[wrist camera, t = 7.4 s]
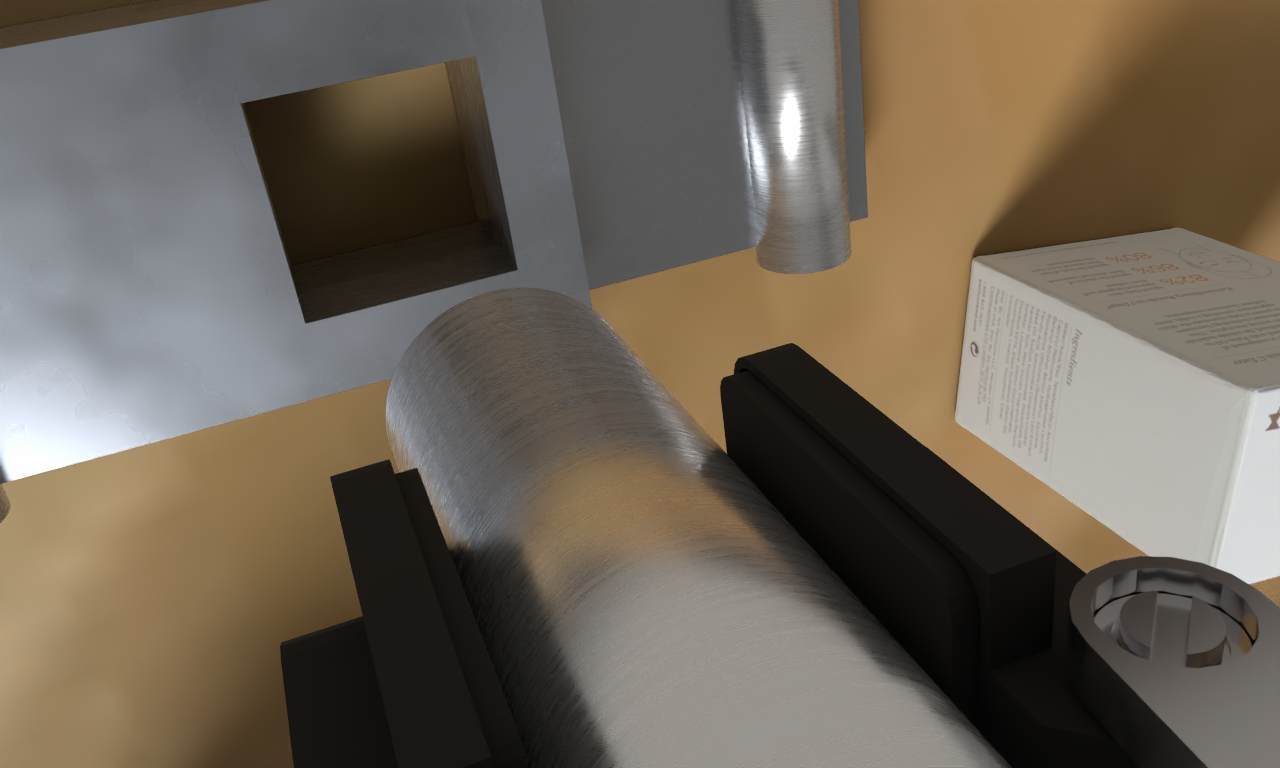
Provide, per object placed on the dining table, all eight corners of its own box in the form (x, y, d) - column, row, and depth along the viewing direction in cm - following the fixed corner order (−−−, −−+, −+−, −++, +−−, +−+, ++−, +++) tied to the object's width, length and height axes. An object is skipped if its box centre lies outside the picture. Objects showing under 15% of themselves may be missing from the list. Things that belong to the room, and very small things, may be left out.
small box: (947, 419, 36) (1201, 604, 27) (967, 250, 34) (1252, 390, 24) (1150, 382, 38) (1445, 540, 29) (1181, 222, 36) (1513, 340, 27)
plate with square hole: (810, -139, 27) (936, -140, 23) (831, 215, 31) (942, 275, 27) (-324, 55, 21) (-467, 106, 17) (-117, 460, 25) (-185, 591, 21)
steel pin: (613, 259, 13) (1406, 1000, 5) (647, 476, 15) (1305, 1357, 6) (356, 325, 12) (736, 1359, 4) (417, 548, 14) (797, 1672, 5)
